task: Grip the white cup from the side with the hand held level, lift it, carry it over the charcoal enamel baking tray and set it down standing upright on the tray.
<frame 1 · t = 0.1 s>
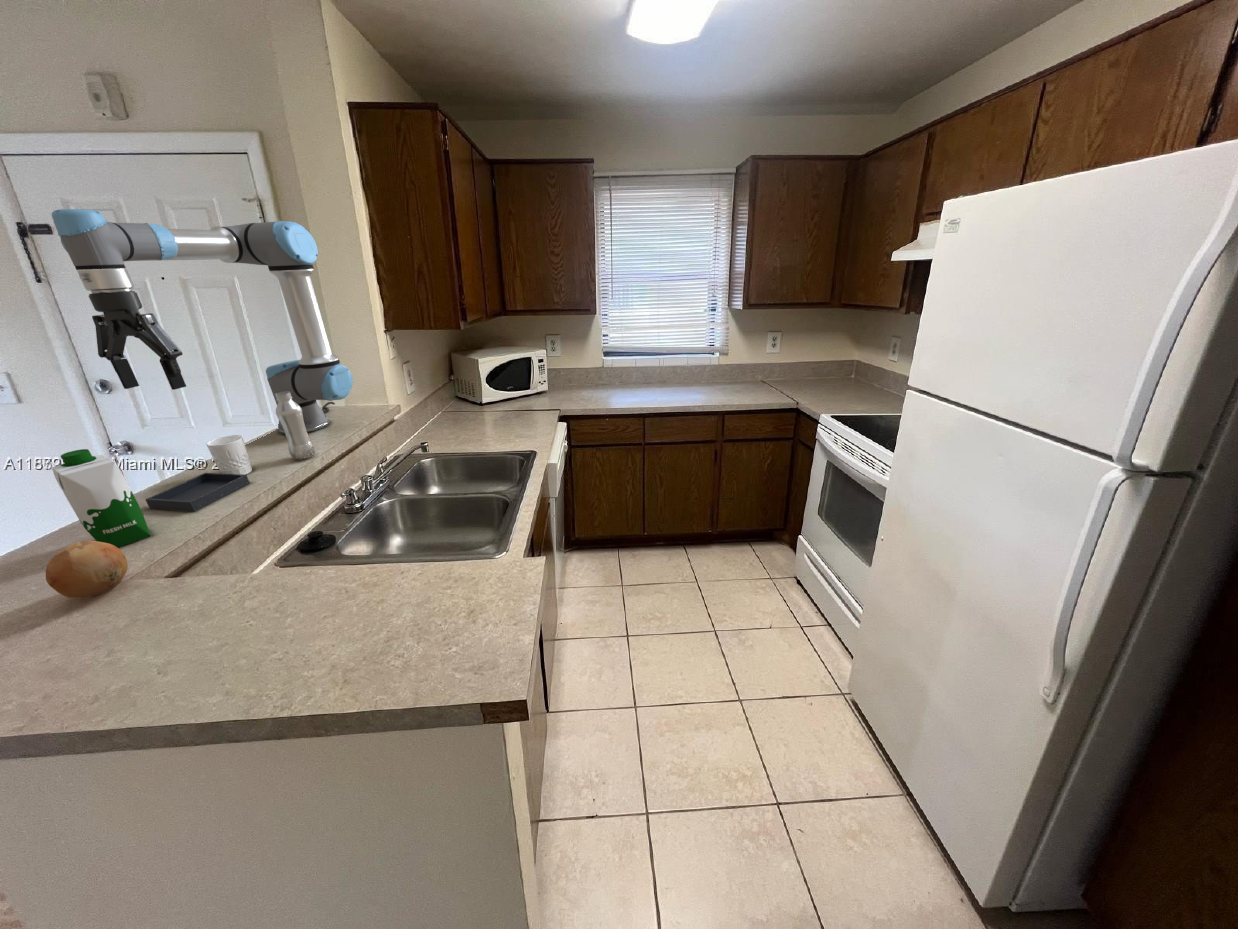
hand: (155, 387, 110), 28 cm above the counter, tool pointing down, fingers open, 13 cm apart
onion: (102, 591, 86), on the counter
milk carton: (125, 540, 102), on the counter
baking tray: (202, 495, 121), on the counter
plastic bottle: (304, 458, 142), on the counter
white cup: (238, 473, 133), on the counter
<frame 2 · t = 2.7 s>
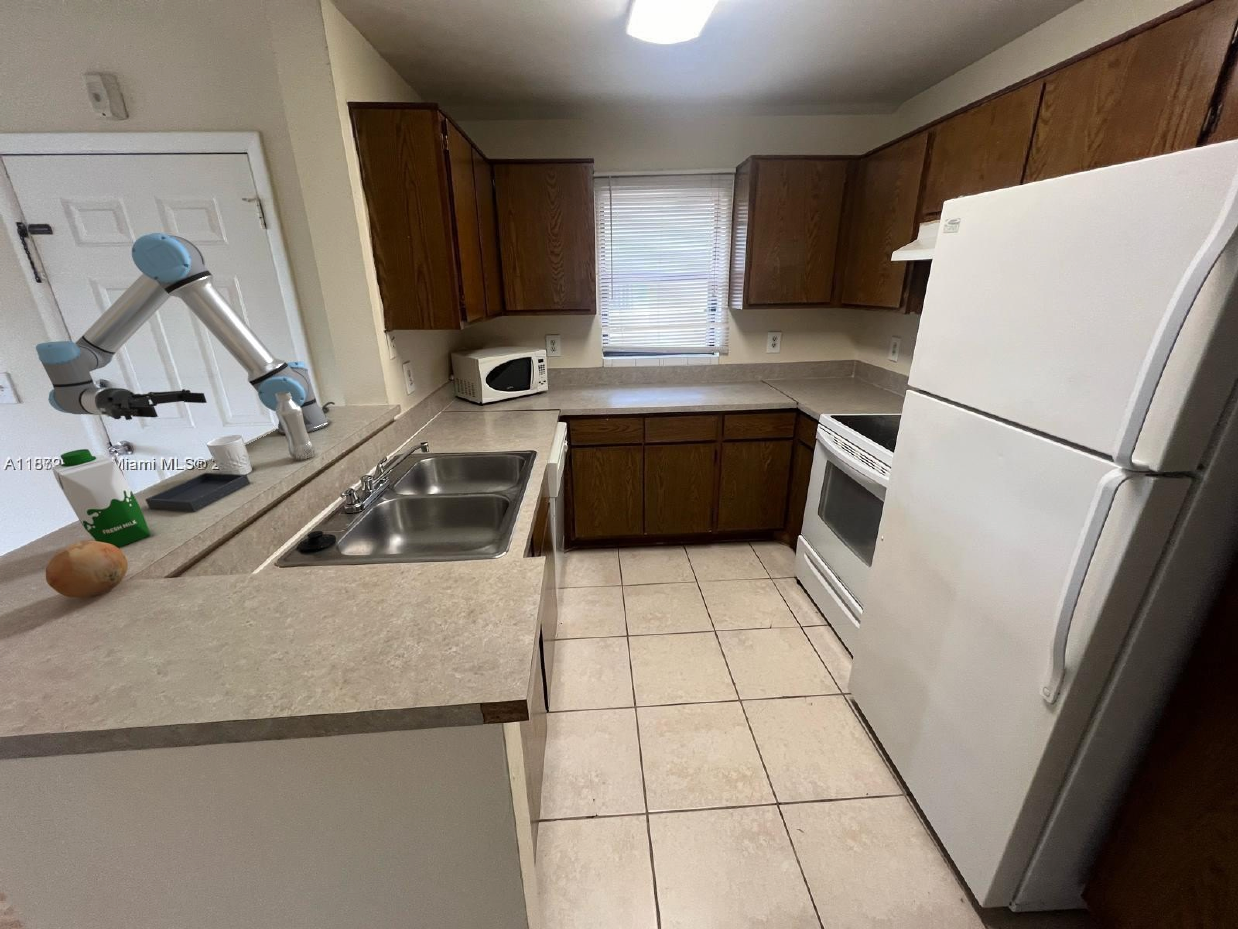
hand: (180, 404, 126), 20 cm above the counter, tool horizontal, fingers open, 13 cm apart
nothing on the counter moved.
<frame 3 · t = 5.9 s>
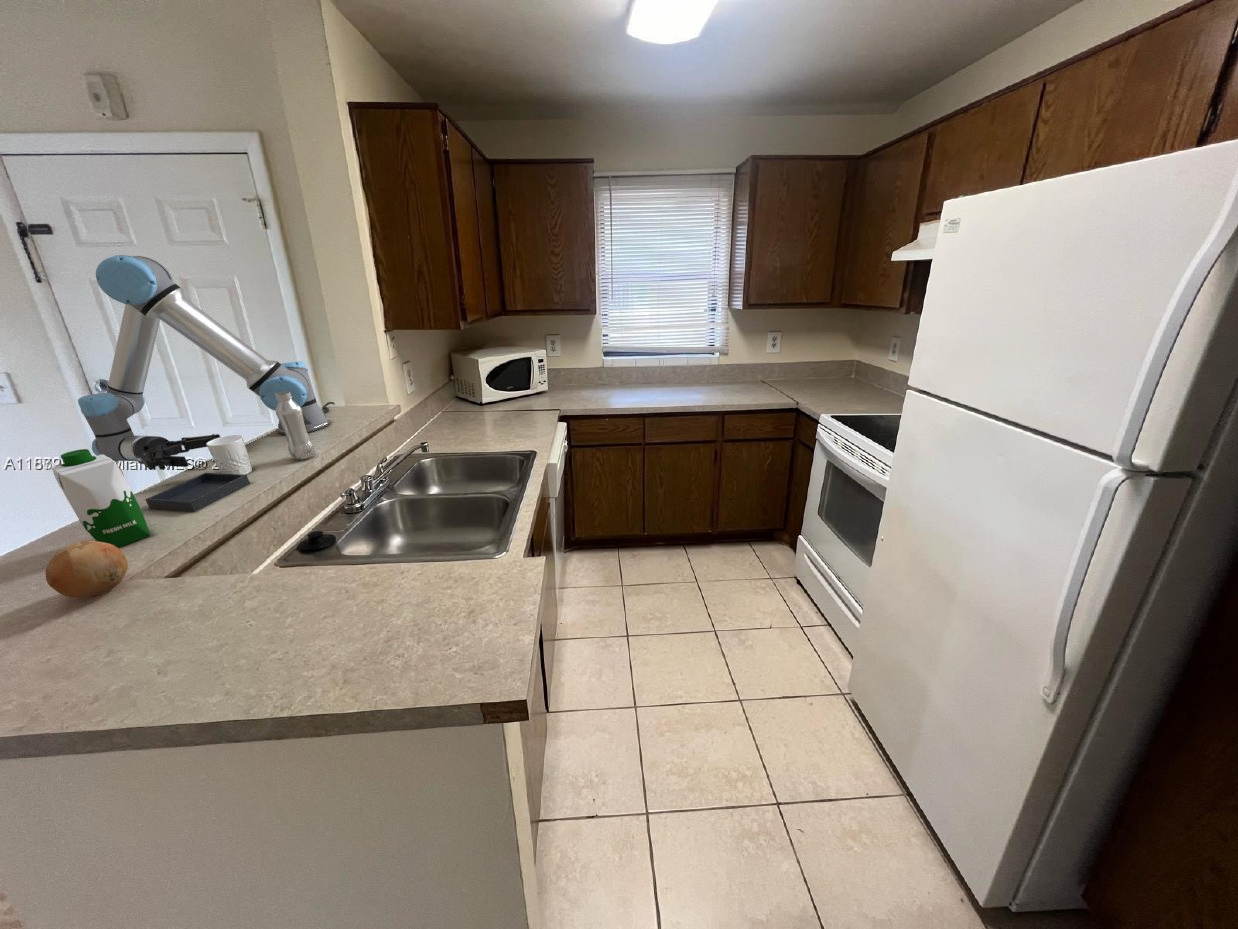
hand: (209, 451, 131), 6 cm above the counter, tool horizontal, fingers open, 13 cm apart
nothing on the counter moved.
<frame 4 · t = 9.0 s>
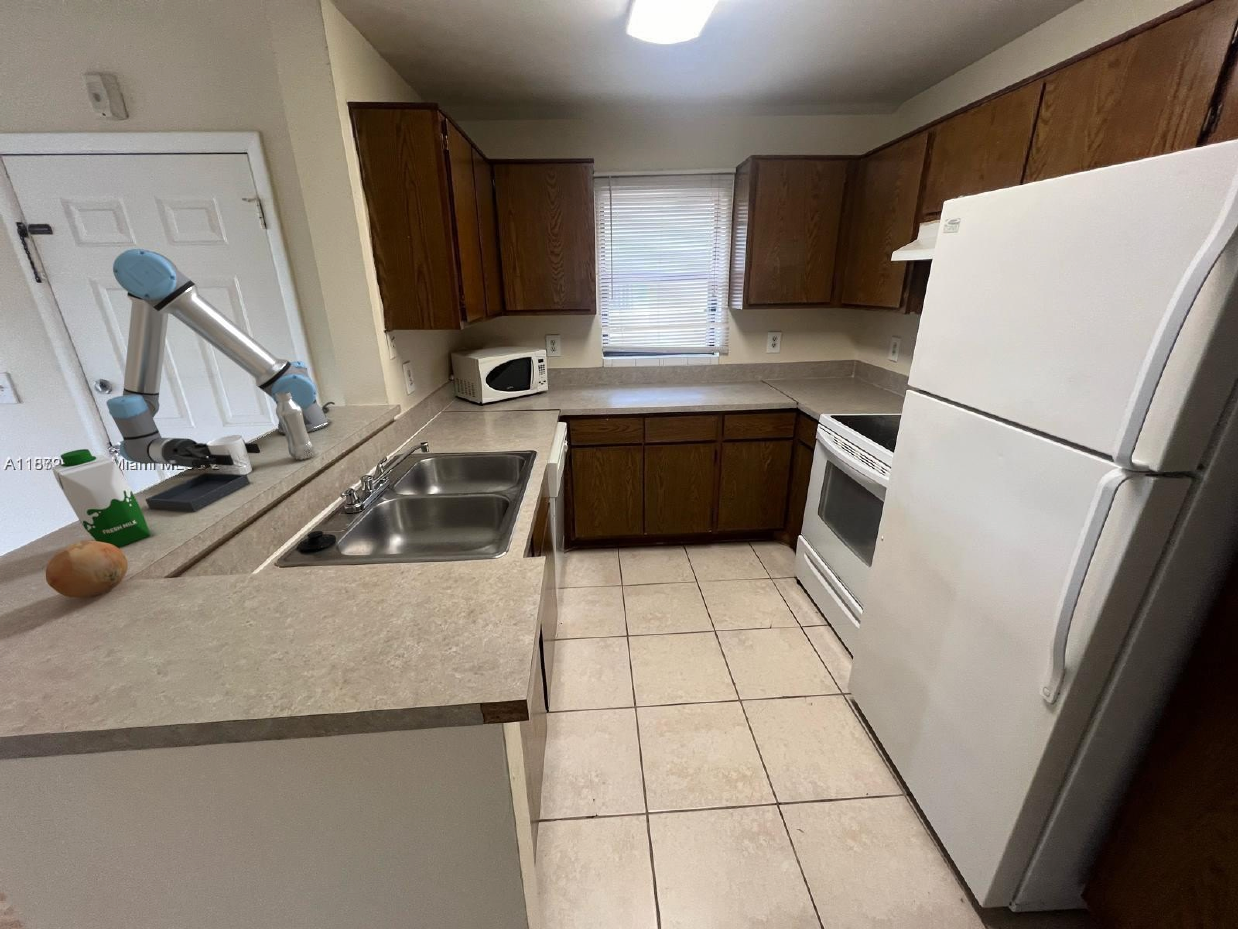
hand: (244, 454, 129), 6 cm above the counter, tool horizontal, fingers closed on white cup, 8 cm apart
white cup: (238, 473, 133), on the counter, touching gripper
everything else where it was.
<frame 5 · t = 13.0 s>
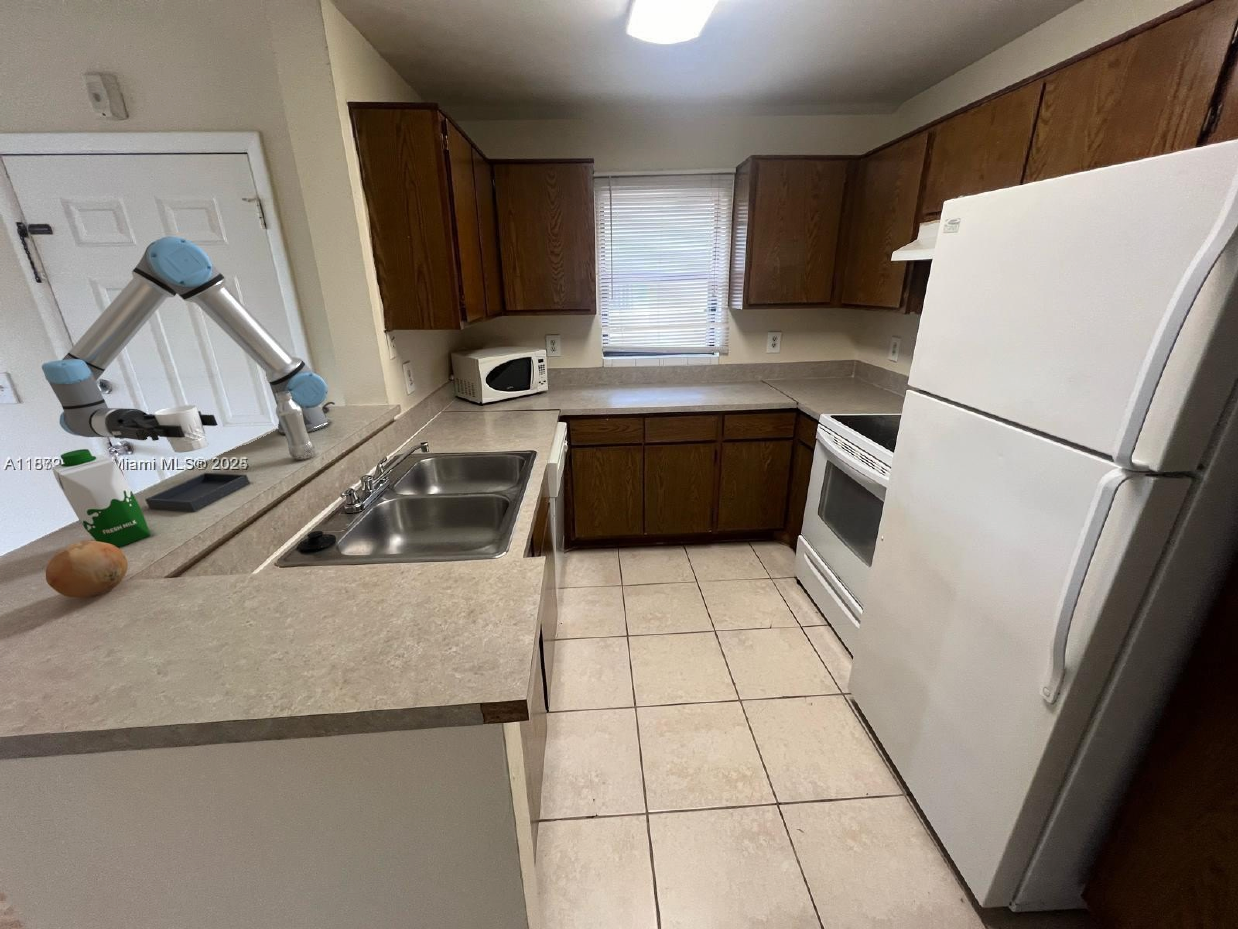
hand: (198, 425, 115), 18 cm above the counter, tool horizontal, fingers closed on white cup, 8 cm apart
white cup: (192, 448, 118), point 12 cm above the counter, touching gripper
everything else where it was.
when the fingers open (7 cm above the counter, at t = 16.8 s): white cup stays where it is, resting on baking tray.
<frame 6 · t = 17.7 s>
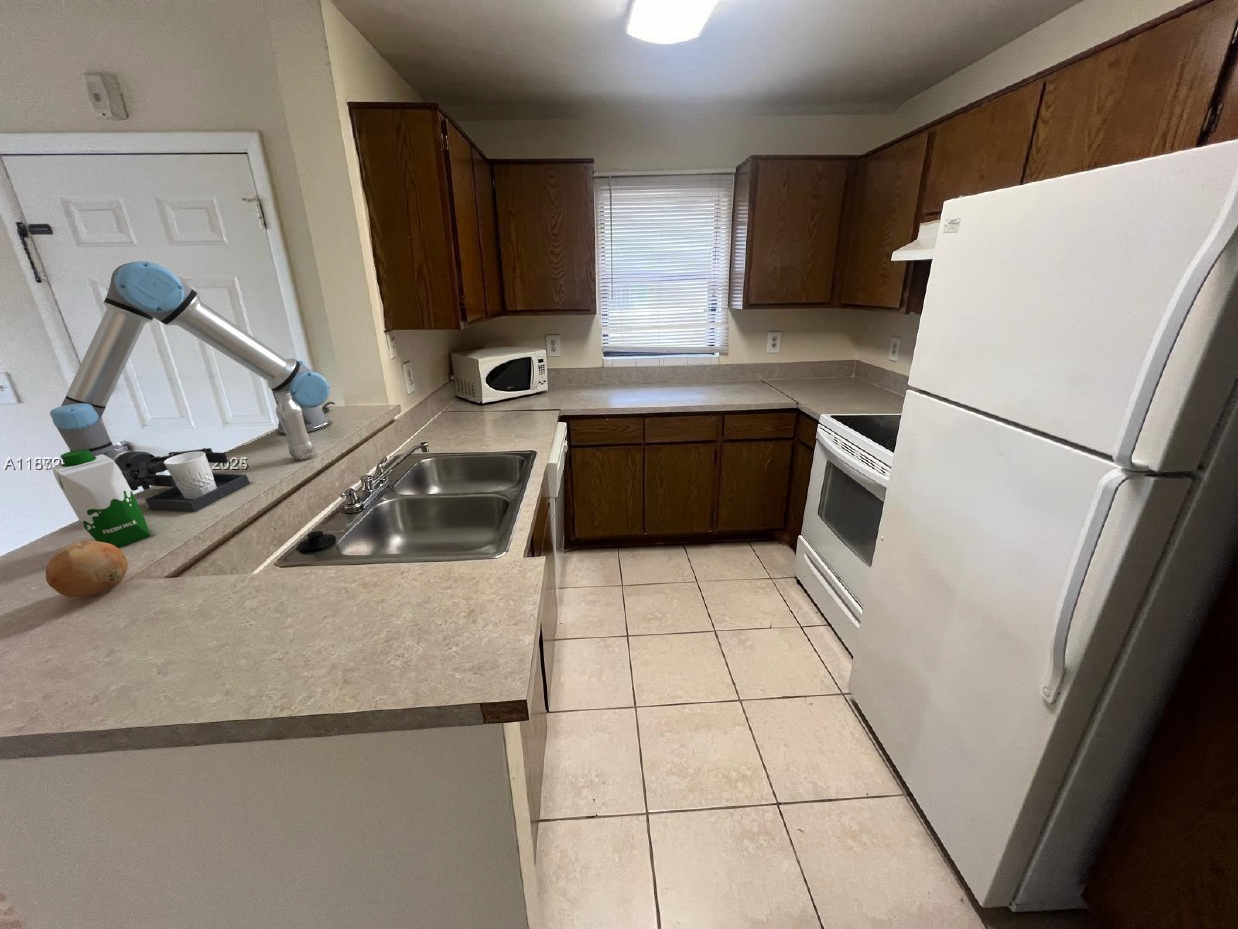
hand: (200, 469, 117), 8 cm above the counter, tool horizontal, fingers open, 13 cm apart
white cup: (201, 494, 120), resting on baking tray
everything else where it was.
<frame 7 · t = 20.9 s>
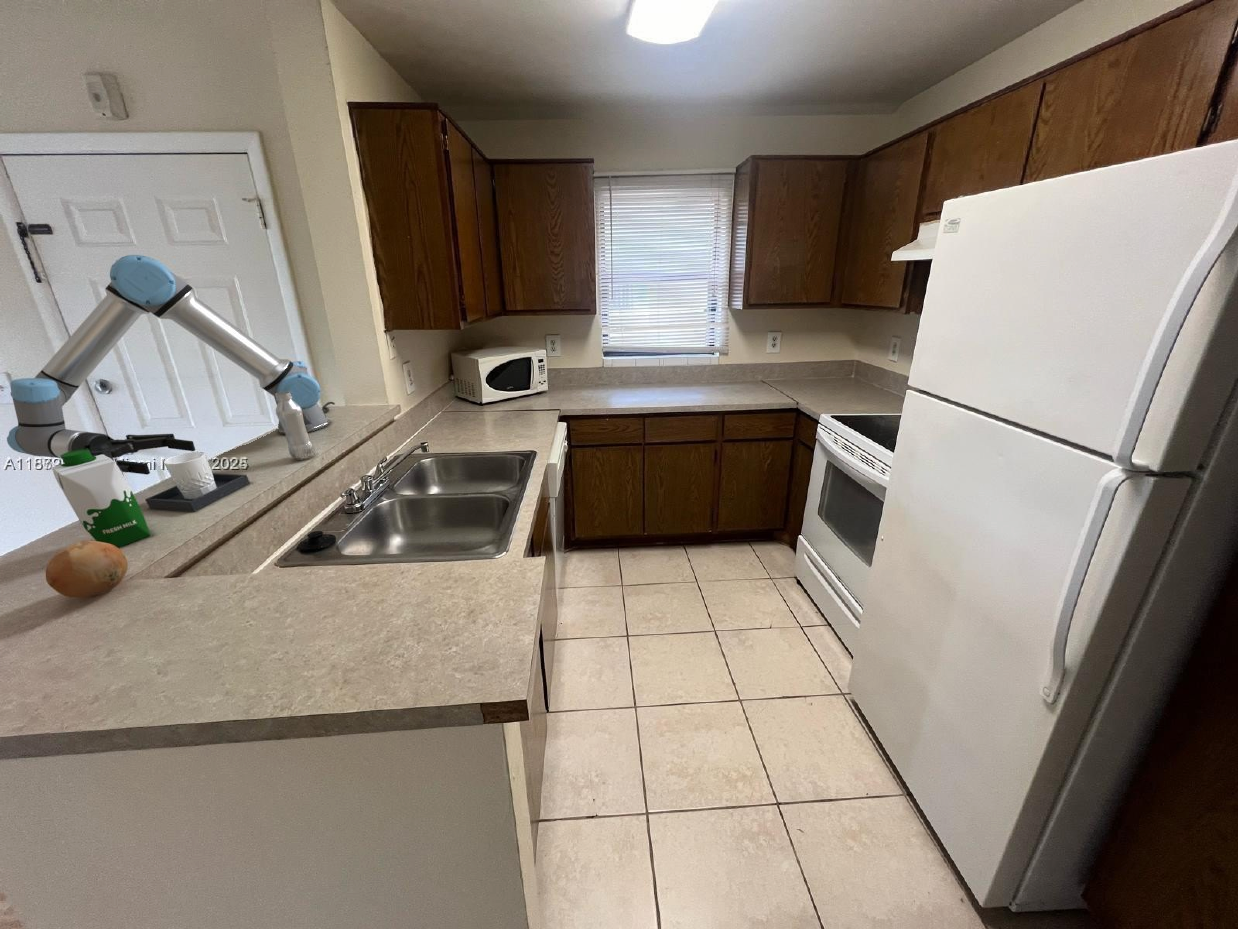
hand: (171, 457, 121), 9 cm above the counter, tool horizontal, fingers open, 13 cm apart
nothing on the counter moved.
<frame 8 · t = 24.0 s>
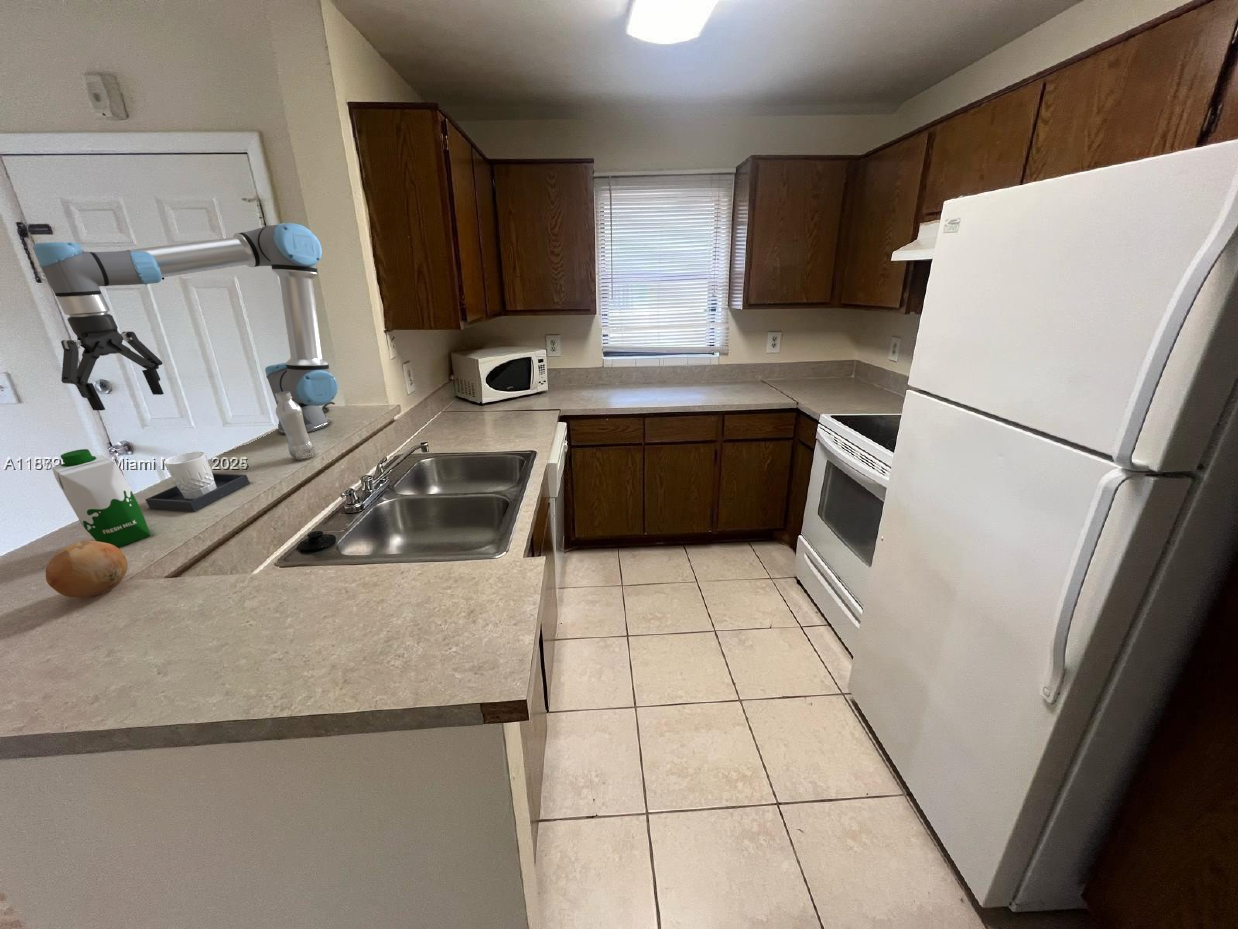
hand: (130, 401, 120), 23 cm above the counter, tool pointing down, fingers open, 13 cm apart
nothing on the counter moved.
at the end: white cup inside the target area in the baking tray (0.1 cm from its centre), point 0.4 cm above the baking tray's base; white cup tilted 0°; the gripper is holding nothing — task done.
